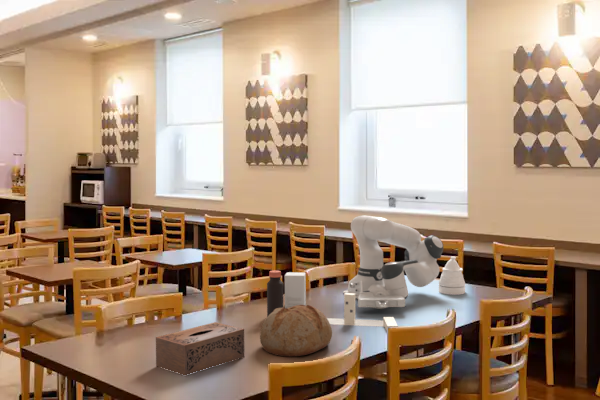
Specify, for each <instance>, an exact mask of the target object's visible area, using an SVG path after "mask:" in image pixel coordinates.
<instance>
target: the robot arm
mask: <svg viewBox="0 0 600 400" xmlns="http://www.w3.org/2000/svg"><path fill="white" fill-rule="evenodd" d="M350 231H351V232H352V234H353V235H354V237H355V239H356V241H357V244H358V249H359V262H360V263H359V264H360V265H359V266H360V267H356V270H357V274H356V275H354V277H353V278H351V280H349V281H348V286H347V289H346V290H343V292H342V293H343V294H345V293H355V300H357V307H358V308H372V309H377V310H383V309H387V308H404V307H405V306H406V300H407V299H408V297H409V295H410V294H409V289H408V286H407V282H406V278H405V274H406V277H407V280H408V282H409V283H410V284H411V285H413V286H414V287H416V288H424V287H426V286H429V284H432V282H433V281H434V280H436V279H437V277H438V276H439V274H440V271H441V270H440V265H439V264H438V262H437V261H438V260H439V259H441V257H442V254H443V252H444V243H443V241H442V240H441V239H440V238H439V237H438V236H436V235H433V234H431V235H429V236H427V237H425V238H424V239H423V240H422V236H421V233H420V231H418V230H417V229H416V228H413V227H411V226H408V225H405V224H402V223H399V222H395V221H393V220H390V219H388V218H386V217H381V216H373V215H365V214H364V215H358V216H355V217H354V218H353V219H352V220H351V223H350ZM378 241H379V242H382V243H385V244H388V245H391V246H396V247H400V248H403V249H405V251H404V260H401V261H390V262H387V263H385V264H384V250H383V249H382V248H381V246H380V245H379V242H378ZM404 272H405V273H404Z"/></svg>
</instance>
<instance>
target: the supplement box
mask: <svg viewBox="0 0 600 400" xmlns="http://www.w3.org/2000/svg"><path fill="white" fill-rule="evenodd" d="M306 275H307V274H306V272H296V271H295V272H292V271H289V272H286V273H285V274H284V308H286V309H287V308H290V307H293V306H296V305H305V306H307V291H306V288H307V287H306V286H307V285H306V284H307V283H306V282H307V281H306V278H307V277H306Z"/></svg>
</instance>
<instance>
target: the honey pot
mask: <svg viewBox="0 0 600 400" xmlns="http://www.w3.org/2000/svg"><path fill="white" fill-rule="evenodd" d="M456 259H457V258H456V256H450V259H449V260H448V261H447V262H446V264H445V265H444V267H442V272H441V275H440V278H439V281H438V293H441V294H443V295H450V296H452V295H453V296H454V295H464V294H465V293H466V282H465V279H464V278H465V277H464V274H463V273H462V272H463V270H464V269H463V267H460V265H459V263H458V262H457V260H456Z"/></svg>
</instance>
